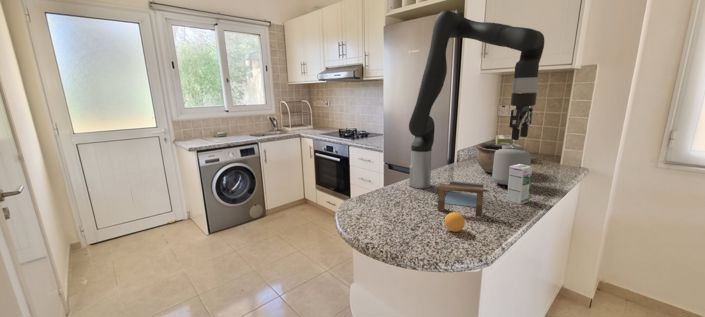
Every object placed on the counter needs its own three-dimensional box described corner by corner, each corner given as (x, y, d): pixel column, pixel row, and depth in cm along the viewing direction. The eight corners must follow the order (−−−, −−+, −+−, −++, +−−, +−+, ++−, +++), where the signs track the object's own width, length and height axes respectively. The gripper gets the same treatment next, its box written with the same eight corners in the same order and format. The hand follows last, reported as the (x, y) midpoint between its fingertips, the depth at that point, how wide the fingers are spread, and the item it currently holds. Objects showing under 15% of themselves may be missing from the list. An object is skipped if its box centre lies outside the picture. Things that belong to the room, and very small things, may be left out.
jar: (494, 177, 148) (498, 128, 143) (528, 181, 141) (533, 129, 135) (489, 188, 132) (494, 133, 127) (527, 193, 125) (533, 135, 120)
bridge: (481, 216, 103) (483, 190, 101) (437, 210, 109) (438, 185, 107) (481, 213, 105) (483, 188, 103) (439, 207, 112) (440, 183, 110)
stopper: (449, 187, 136) (450, 181, 135) (450, 185, 137) (450, 180, 137) (482, 190, 130) (483, 185, 129) (483, 189, 132) (483, 183, 131)
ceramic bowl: (522, 170, 160) (524, 143, 157) (519, 180, 142) (522, 150, 139) (478, 166, 172) (480, 140, 169) (471, 175, 154) (473, 147, 151)
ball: (443, 233, 92) (443, 215, 90) (445, 225, 97) (446, 208, 96) (463, 236, 89) (464, 218, 88) (465, 228, 95) (466, 211, 93)
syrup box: (520, 204, 113) (524, 168, 109) (506, 200, 118) (509, 165, 115) (529, 202, 115) (533, 166, 112) (515, 197, 120) (518, 163, 117)
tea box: (494, 156, 196) (495, 134, 193) (511, 157, 192) (513, 135, 189) (495, 161, 182) (497, 137, 179) (513, 162, 179) (515, 138, 175)
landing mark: (442, 203, 116) (442, 202, 116) (447, 192, 129) (447, 191, 129) (480, 208, 110) (480, 207, 110) (482, 196, 123) (482, 195, 123)
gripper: (519, 91, 108) (515, 135, 112) (504, 92, 99) (500, 139, 102) (543, 91, 103) (537, 137, 106) (529, 91, 93) (523, 142, 97)
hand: (519, 138), depth 104 cm, fingers open, 8 cm apart
